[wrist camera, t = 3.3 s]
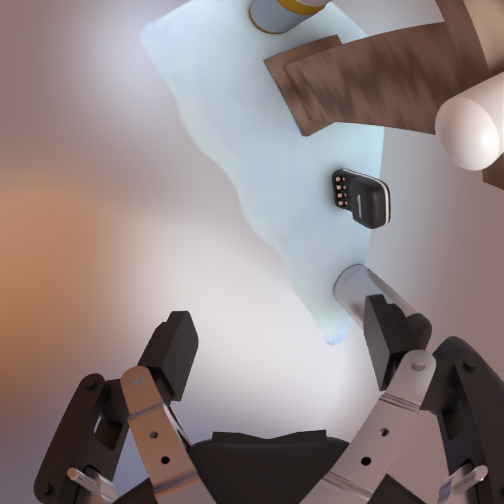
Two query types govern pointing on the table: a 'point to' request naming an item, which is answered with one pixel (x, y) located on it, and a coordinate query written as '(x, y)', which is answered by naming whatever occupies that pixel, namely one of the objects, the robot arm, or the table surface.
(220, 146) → the table surface
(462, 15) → the pedestal
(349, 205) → the battery charger
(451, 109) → the hammer
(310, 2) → the bottle
